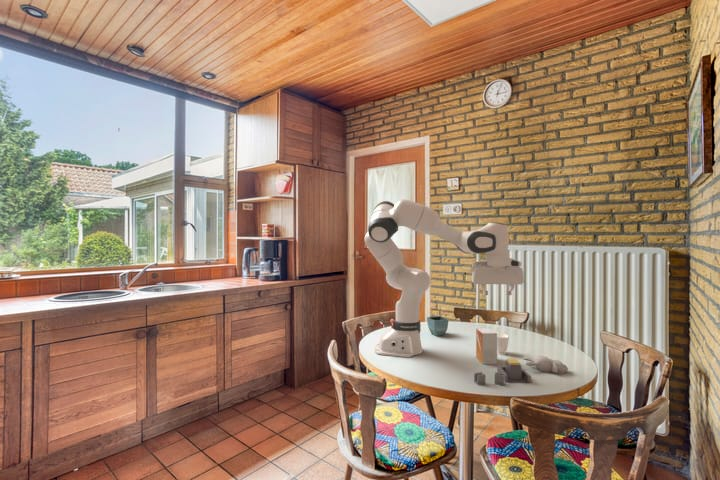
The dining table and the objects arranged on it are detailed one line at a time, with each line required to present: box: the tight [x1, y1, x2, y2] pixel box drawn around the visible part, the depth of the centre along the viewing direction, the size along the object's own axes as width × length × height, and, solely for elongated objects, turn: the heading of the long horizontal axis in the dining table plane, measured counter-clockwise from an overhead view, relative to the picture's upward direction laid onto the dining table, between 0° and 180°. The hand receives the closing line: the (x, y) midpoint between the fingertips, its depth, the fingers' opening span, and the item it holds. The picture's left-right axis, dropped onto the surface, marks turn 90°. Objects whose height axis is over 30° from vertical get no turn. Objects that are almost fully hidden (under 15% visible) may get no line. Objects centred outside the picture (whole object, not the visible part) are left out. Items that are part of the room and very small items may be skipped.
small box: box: [475, 327, 498, 365], centre depth 147 cm, size 8×6×13 cm
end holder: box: [496, 365, 532, 384], centre depth 129 cm, size 9×9×2 cm
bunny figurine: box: [523, 355, 569, 375], centre depth 136 cm, size 10×5×15 cm
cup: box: [497, 333, 510, 356], centre depth 157 cm, size 7×10×8 cm
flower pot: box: [426, 315, 450, 337], centre depth 187 cm, size 9×9×9 cm
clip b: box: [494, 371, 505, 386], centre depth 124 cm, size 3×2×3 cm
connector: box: [504, 358, 522, 379], centre depth 129 cm, size 4×5×6 cm
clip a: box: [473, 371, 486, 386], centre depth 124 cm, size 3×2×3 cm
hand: (497, 295), depth 141 cm, fingers open, 8 cm apart
